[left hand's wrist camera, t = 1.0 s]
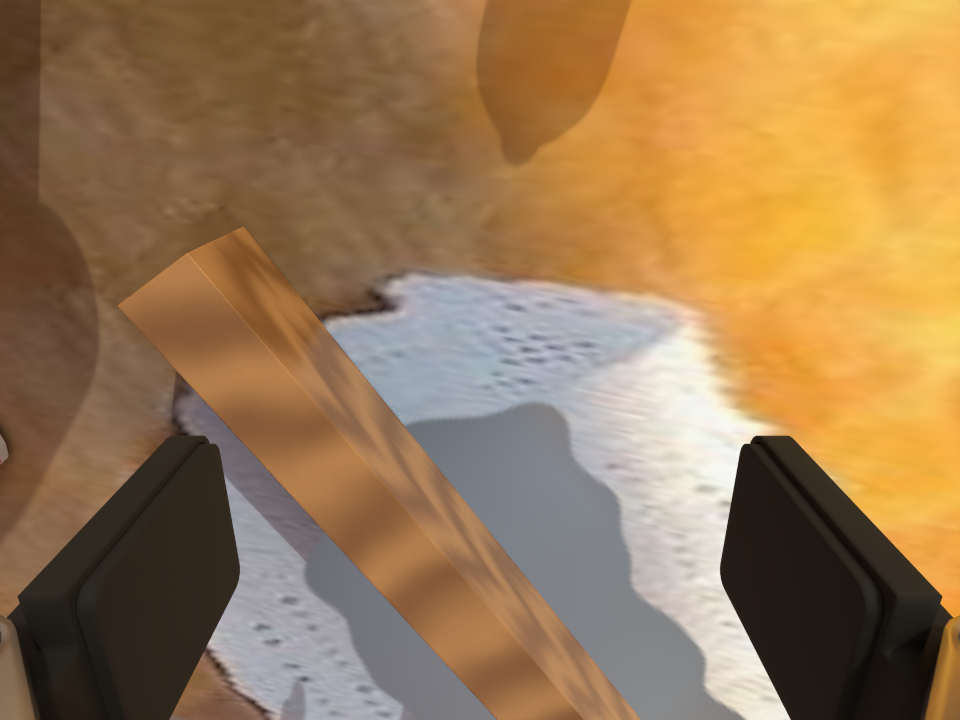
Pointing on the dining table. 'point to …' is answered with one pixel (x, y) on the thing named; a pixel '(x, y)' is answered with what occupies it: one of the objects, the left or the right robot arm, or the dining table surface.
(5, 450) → the toy
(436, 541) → the post
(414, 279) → the dining table surface
